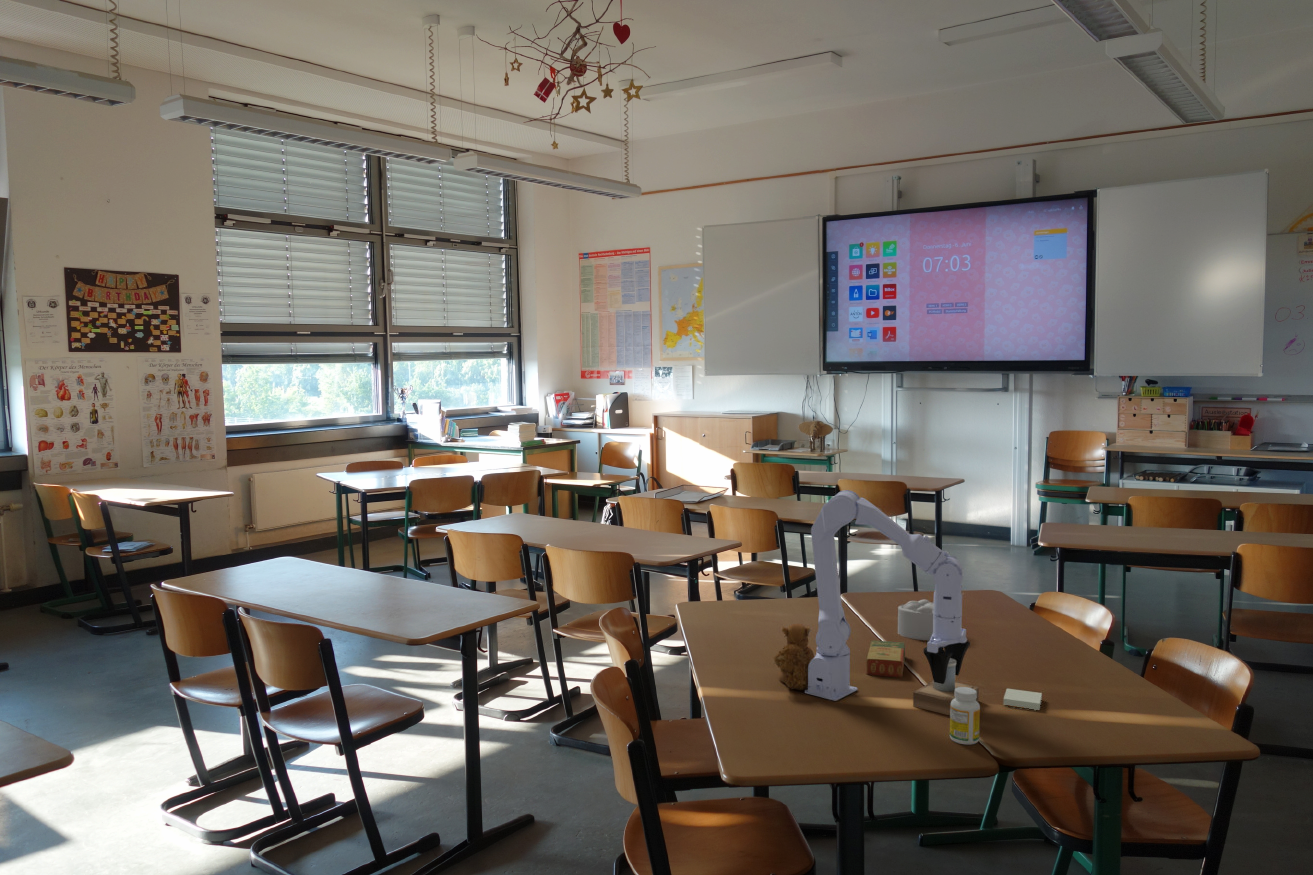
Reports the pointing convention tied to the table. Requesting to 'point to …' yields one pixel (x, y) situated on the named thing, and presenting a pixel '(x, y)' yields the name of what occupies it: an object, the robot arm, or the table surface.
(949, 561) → the robot arm
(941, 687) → the cup
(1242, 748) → the table surface
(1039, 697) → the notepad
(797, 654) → the brown teddy bear
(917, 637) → the lumpy-topped squat cylinder
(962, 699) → the supplement bottle
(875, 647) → the carton
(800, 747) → the table surface
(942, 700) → the box
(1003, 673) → the table surface
